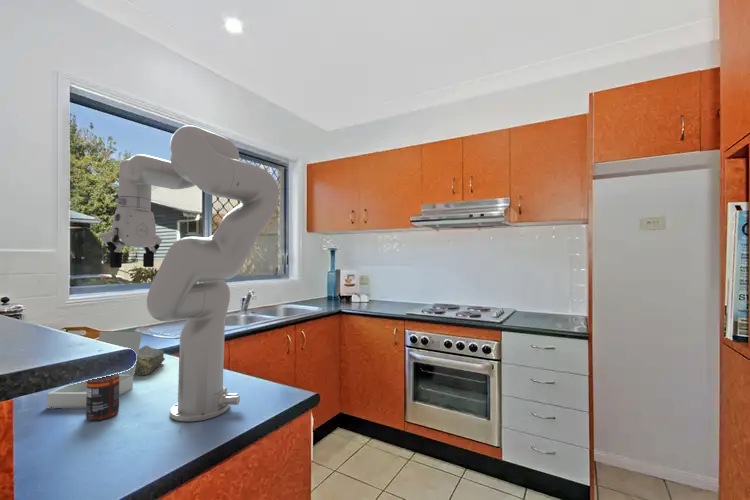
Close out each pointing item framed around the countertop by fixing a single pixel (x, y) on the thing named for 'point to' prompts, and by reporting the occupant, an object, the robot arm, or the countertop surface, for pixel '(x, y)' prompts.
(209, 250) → the robot arm
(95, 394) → the supplement bottle
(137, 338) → the white open box
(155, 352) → the rock
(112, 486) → the countertop surface
